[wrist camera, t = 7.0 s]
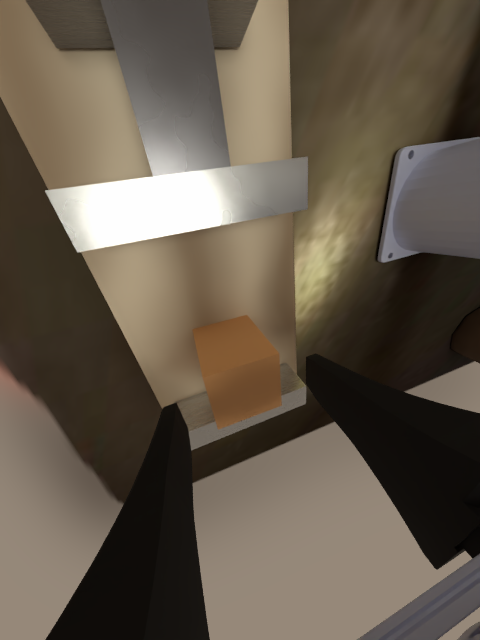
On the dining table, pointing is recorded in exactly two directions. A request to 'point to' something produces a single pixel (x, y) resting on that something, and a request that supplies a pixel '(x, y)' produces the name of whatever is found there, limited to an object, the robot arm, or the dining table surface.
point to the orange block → (238, 370)
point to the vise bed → (132, 163)
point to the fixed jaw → (206, 431)
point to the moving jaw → (168, 123)
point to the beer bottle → (468, 337)
